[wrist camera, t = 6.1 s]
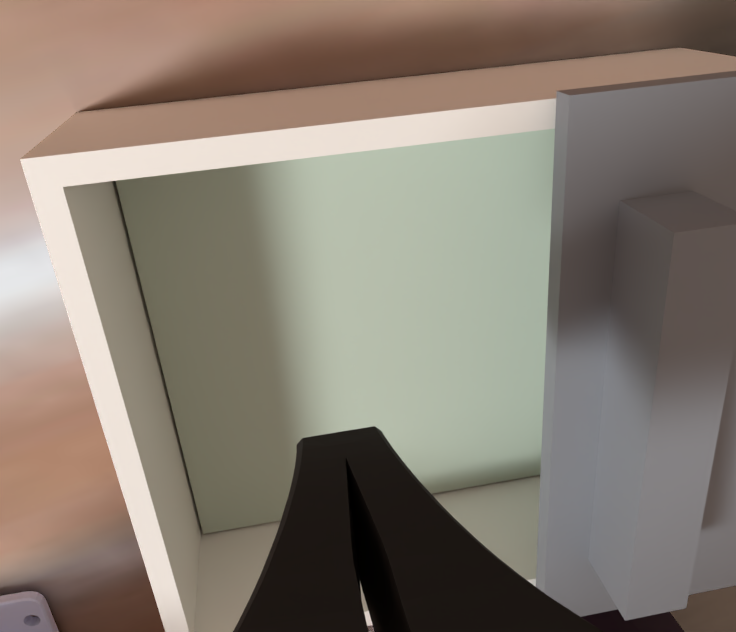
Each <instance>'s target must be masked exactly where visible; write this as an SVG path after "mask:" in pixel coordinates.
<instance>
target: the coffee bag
mask: <svg viewBox="0 0 736 632" xmlns="http://www.w3.org/2000/svg"><path fill="white" fill-rule="evenodd" d="M582 618H583V619H585V620H586V621H588V622H589V623H591V624H593V625H594V626H596V627H597V628H599V629H600V630H602V631H604V632H684V631H683V630H682V628H681V627H680V626H679V624H678V623H677V621H676V620H675V619H674V617H673V616H672V615H671V613H670V612H665V613H660V614H655V615H651V616H646V617H641V618H636V619H631V620H626V621H625V620H624V618H623V617H622V615H621V613H620V612H619V610H618V609H617V610H612V611H607V612H602V613H597V614H592V615H587V616H582Z"/></svg>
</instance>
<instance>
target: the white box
mask: <svg viewBox="0 0 736 632" xmlns="http://www.w3.org/2000/svg"><path fill="white" fill-rule="evenodd" d="M729 71H736V57H735V56H729V55H723V54H717V53H711V52H705V51H698V50H692V49H686V48H680V47H678V48H669V49H660V50H650V51H641V52H632V53H623V54H613V55H604V56H595V57H585V58H576V59H567V60H557V61H548V62H539V63H529V64H520V65H511V66H502V67H492V68H483V69H474V70H464V71H455V72H446V73H436V74H427V75H418V76H408V77H399V78H390V79H380V80H371V81H362V82H353V83H343V84H334V85H325V86H315V87H306V88H297V89H287V90H278V91H269V92H259V93H250V94H241V95H231V96H222V97H213V98H204V99H194V100H185V101H176V102H166V103H157V104H148V105H138V106H129V107H120V108H110V109H101V110H92V111H82V112H76V113H75V114H74V115H73V116H71V117H70V118H69V119H68V120H67V121H65V122H64V123H63V124H62V125H61V126H59V127H58V128H57V129H56V130H55V131H53V132H52V133H51V134H50V135H49V136H47V137H46V138H45V139H44V140H43V141H41V142H40V143H39V144H38V145H37V146H35V147H34V148H33V149H32V150H31V151H29V152H28V153H27V154H26V155H24V156H23V157H22V158H21V159H20V161H21V164H22V168H23V171H24V174H25V177H26V181H27V184H28V187H29V190H30V194H31V197H32V200H33V203H34V207H35V210H36V213H37V216H38V220H39V223H40V226H41V229H42V233H43V236H44V239H45V242H46V246H47V249H48V252H49V255H50V259H51V262H52V265H53V268H54V272H55V275H56V278H57V281H58V285H59V288H60V291H61V294H62V298H63V301H64V304H65V307H66V311H67V314H68V317H69V320H70V324H71V327H72V330H73V333H74V337H75V340H76V343H77V346H78V350H79V353H80V356H81V359H82V363H83V366H84V369H85V372H86V376H87V379H88V382H89V385H90V389H91V392H92V395H93V398H94V402H95V405H96V408H97V411H98V415H99V418H100V421H101V424H102V428H103V431H104V434H105V437H106V441H107V444H108V447H109V450H110V454H111V457H112V460H113V463H114V467H115V470H116V473H117V476H118V480H119V483H120V486H121V489H122V493H123V496H124V499H125V502H126V506H127V509H128V512H129V515H130V519H131V522H132V525H133V528H134V532H135V535H136V538H137V541H138V545H139V548H140V551H141V554H142V558H143V561H144V564H145V567H146V571H147V574H148V577H149V580H150V584H151V587H152V590H153V593H154V597H155V600H156V603H157V607H158V610H159V613H160V616H161V620H162V623H163V626H164V629H165V632H233V631H234V629H235V627H236V625H237V623H238V621H239V619H240V617H241V615H242V613H243V611H244V609H245V607H246V605H247V603H248V601H249V599H250V597H251V595H252V593H253V590H254V588H255V586H256V584H257V581H258V579H259V577H260V575H261V572H262V570H263V567H264V565H265V562H266V560H267V557H268V554H269V552H270V549H271V547H272V544H273V542H274V539H275V536H276V534H277V531H278V528H279V525H280V522H281V518H282V515H283V512H284V508H285V505H286V502H287V498H288V495H289V491H290V487H291V483H292V479H293V474H294V469H295V462H296V453H297V446H296V445H297V444H298V442H299V441H300V440H301V439H302V438H305V437H311V436H317V435H324V434H330V433H336V432H342V431H348V430H354V429H360V428H366V427H373V426H375V427H377V428H378V429H379V430H381V431H382V433H383V434H384V436H385V437H386V439H387V440H388V442H389V443H390V445H391V446H392V447H393V449H394V450H395V452H396V453H397V454H398V455H399V457H400V458H401V459H402V461H403V462H404V463H405V464H406V466H407V467H408V468H409V469H410V470H411V472H412V473H413V474H414V475H415V476H416V478H417V479H418V480H419V481H420V482H421V483H422V484H423V486H424V487H425V488H426V489H427V490H428V491H429V492H430V493H431V494H432V495H433V496H434V497H435V499H436V500H437V501H438V502H439V503H440V504H441V505H442V506H443V507H444V508H445V509H446V510H447V511H448V512H449V513H450V514H451V515H452V516H453V517H454V518H455V519H456V520H457V521H458V522H459V523H460V524H461V525H462V526H463V527H464V528H465V529H466V530H467V531H469V532H470V533H471V534H472V535H473V536H474V537H475V538H476V539H477V540H478V541H479V542H481V543H482V544H483V545H484V546H485V547H486V548H487V549H488V550H490V551H491V552H492V553H493V554H494V555H496V556H497V557H498V558H499V559H500V560H502V561H503V562H504V563H505V564H507V565H508V566H509V567H510V568H512V569H513V570H514V571H515V572H517V573H518V574H519V575H521V576H522V577H523V578H525V579H526V580H527V581H529V582H530V583H531V584H533V585H534V586H535V587H536V567H537V543H538V519H539V496H540V472H541V448H542V425H543V401H544V377H545V354H546V330H547V306H548V283H549V259H550V235H551V211H552V188H553V164H554V140H555V117H556V93H557V91H560V90H568V89H577V88H586V87H595V86H604V85H613V84H622V83H631V82H640V81H648V80H657V79H666V78H675V77H684V76H693V75H702V74H711V73H720V72H729ZM360 589H361V600H362V605H363V610H364V614H365V619H366V623H367V626H371V625H373V624H372V621H371V617H370V614H369V611H368V607H367V604H366V600H365V597H364V593H363V590H362V586H361V583H360Z"/></svg>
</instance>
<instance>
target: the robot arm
mask: <svg viewBox="0 0 736 632" xmlns="http://www.w3.org/2000/svg"><path fill="white" fill-rule="evenodd" d="M296 446H297V453H296V462H295V469H294V474H293V479H292V483H291V487H290V491H289V495H288V498H287V502H286V505H285V508H284V512H283V515H282V518H281V522H280V525H279V528H278V531H277V534H276V536H275V539H274V542H273V544H272V547H271V549H270V552H269V554H268V557H267V560H266V562H265V565H264V567H263V570H262V572H261V575H260V577H259V579H258V581H257V584H256V586H255V588H254V590H253V593H252V595H251V597H250V599H249V601H248V603H247V605H246V607H245V609H244V611H243V613H242V615H241V617H240V619H239V621H238V623H237V625H236V627H235V629H234V631H233V632H368V628H367V623H366V619H365V614H364V610H363V605H362V600H361V589H360V583H361V586H362V590H363V593H364V597H365V600H366V604H367V607H368V611H369V614H370V617H371V621H372V624H373V628H374V631H375V632H604V631H602V630H600V629H599V628H597V627H596V626H594V625H593V624H591V623H589V622H588V621H586V620H585V619H583V618H582V617H580V616H579V615H577V614H575V613H574V612H572V611H571V610H569V609H568V608H566V607H565V606H563V605H562V604H560V603H558V602H557V601H555V600H554V599H552V598H551V597H549V596H548V595H546V594H545V593H544V592H542V591H541V590H540V589H538V588H537V587H535V586H534V585H533V584H531V583H530V582H529V581H527V580H526V579H525V578H523V577H522V576H521V575H519V574H518V573H517V572H515V571H514V570H513V569H512V568H510V567H509V566H508V565H507V564H505V563H504V562H503V561H502V560H500V559H499V558H498V557H497V556H496V555H494V554H493V553H492V552H491V551H490V550H488V549H487V548H486V547H485V546H484V545H483V544H482V543H481V542H479V541H478V540H477V539H476V538H475V537H474V536H473V535H472V534H471V533H470V532H469V531H467V530H466V529H465V528H464V527H463V526H462V525H461V524H460V523H459V522H458V521H457V520H456V519H455V518H454V517H453V516H452V515H451V514H450V513H449V512H448V511H447V510H446V509H445V508H444V507H443V506H442V505H441V504H440V503H439V502H438V501H437V500H436V499H435V497H434V496H433V495H432V494H431V493H430V492H429V491H428V490H427V489H426V488H425V487H424V486H423V484H422V483H421V482H420V481H419V480H418V479H417V478H416V476H415V475H414V474H413V473H412V472H411V470H410V469H409V468H408V467H407V466H406V464H405V463H404V462H403V461H402V459H401V458H400V457H399V455H398V454H397V453H396V452H395V450H394V449H393V447H392V446H391V445H390V443H389V442H388V440H387V439H386V437H385V436H384V434H383V433H382V431H381V430H379V429H378V428H377V427H375V426H373V427H366V428H360V429H354V430H348V431H342V432H336V433H330V434H324V435H317V436H311V437H305V438H302V439H301V440H300V441H299V442H298V444H297V445H296ZM30 615H35V616H38V617H33V616H30ZM0 632H59V630H58V628H57V626H56V623H55V621H54V618H53V616H52V613H51V611H50V608H49V606H48V604H47V601H46V599H45V597H44V596H43V595H42V594H40V593H38V592H34V591H25V592H19V593H14V594H8V595H3V596H0Z"/></svg>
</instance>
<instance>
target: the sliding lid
mask: <svg viewBox="0 0 736 632" xmlns="http://www.w3.org/2000/svg"><path fill="white" fill-rule="evenodd" d="M731 586H736V71H729V72H720V73H711V74H702V75H693V76H684V77H675V78H666V79H657V80H648V81H640V82H631V83H622V84H613V85H604V86H595V87H586V88H577V89H568V90H560V91H557V93H556V117H555V140H554V164H553V188H552V211H551V235H550V259H549V283H548V306H547V330H546V354H545V377H544V401H543V425H542V448H541V472H540V496H539V519H538V543H537V567H536V587H537V588H538V589H540V590H541V591H542V592H544V593H545V594H546V595H548V596H549V597H551V598H552V599H554V600H555V601H557V602H558V603H560V604H562V605H563V606H565V607H566V608H568V609H569V610H571V611H572V612H574V613H575V614H577V615H579V616H580V617H582V616H587V615H592V614H597V613H602V612H607V611H612V610H617V609H618V610H619V612H620V613H621V615H622V617H623V618H624V620H625V621H626V620H631V619H636V618H641V617H646V616H651V615H655V614H660V613H665V612H670V611H675V610H680V609H685V608H686V607H687V601H688V596H689V595H691V594H696V593H701V592H706V591H711V590H716V589H721V588H726V587H731Z"/></svg>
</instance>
